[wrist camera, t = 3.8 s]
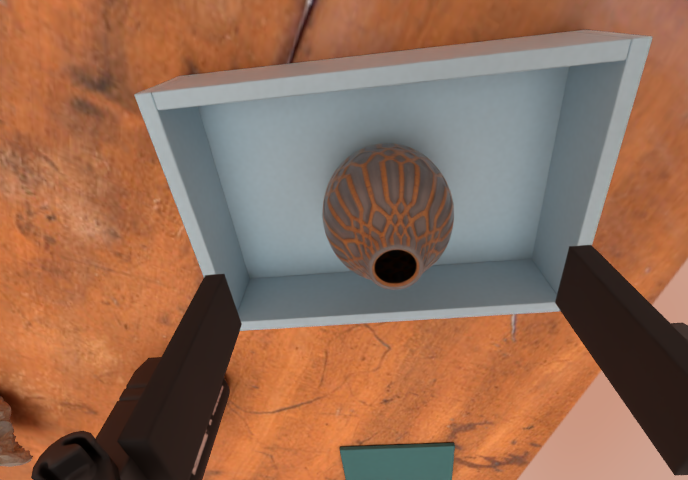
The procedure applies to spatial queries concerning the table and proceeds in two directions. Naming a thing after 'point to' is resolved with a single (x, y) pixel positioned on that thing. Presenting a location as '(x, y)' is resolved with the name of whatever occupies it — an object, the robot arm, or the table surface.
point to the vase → (388, 214)
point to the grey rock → (10, 440)
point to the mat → (399, 462)
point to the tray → (409, 130)
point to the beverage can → (210, 433)
